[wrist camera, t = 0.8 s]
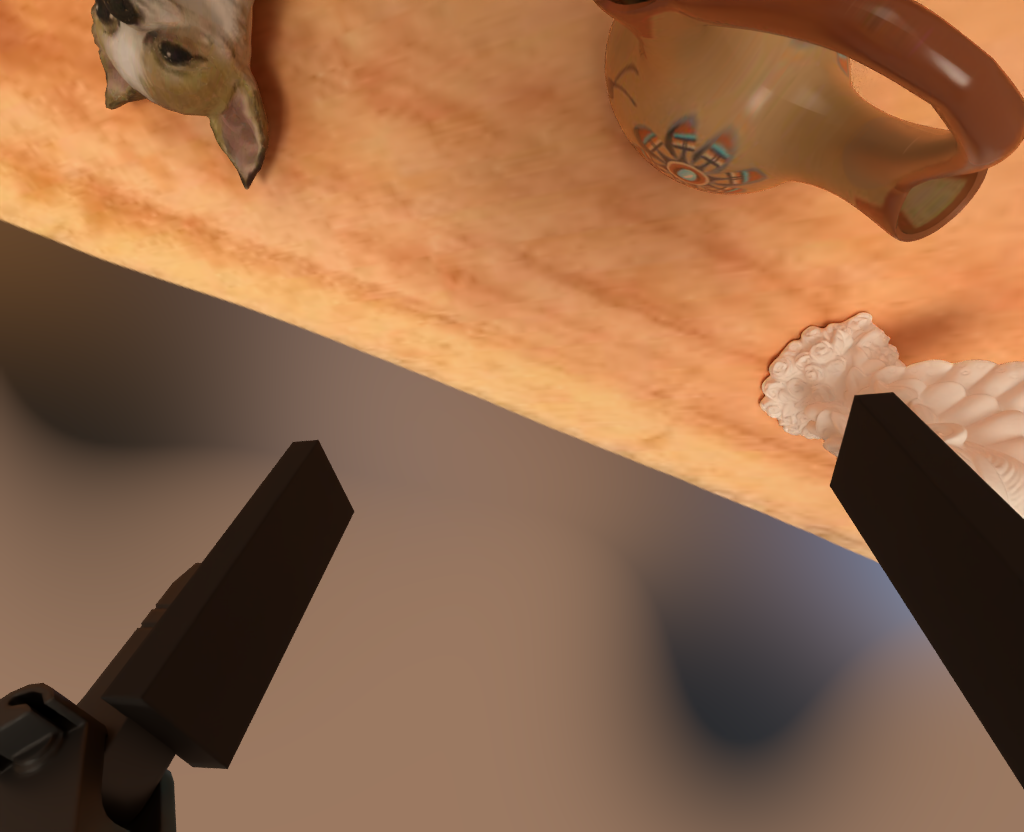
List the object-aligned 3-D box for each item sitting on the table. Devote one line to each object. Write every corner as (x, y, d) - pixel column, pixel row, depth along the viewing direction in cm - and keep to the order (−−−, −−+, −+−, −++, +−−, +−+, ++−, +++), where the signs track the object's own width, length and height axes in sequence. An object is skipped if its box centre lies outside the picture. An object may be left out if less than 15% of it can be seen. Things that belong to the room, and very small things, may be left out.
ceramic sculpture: (247, -98, 20) (203, 217, 29) (335, -61, 27) (278, 185, 36) (-31, -298, 18) (12, 110, 27) (141, -203, 25) (131, 97, 33)
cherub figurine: (793, 290, 36) (983, 465, 19) (970, 297, 35) (1325, 487, 19) (742, 431, 43) (849, 642, 27) (887, 440, 42) (1089, 664, 26)
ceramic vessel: (538, 80, 30) (476, 75, 10) (628, -102, 25) (895, -898, 5) (737, 222, 34) (1002, 441, 13) (849, 87, 29) (1546, 100, 8)
